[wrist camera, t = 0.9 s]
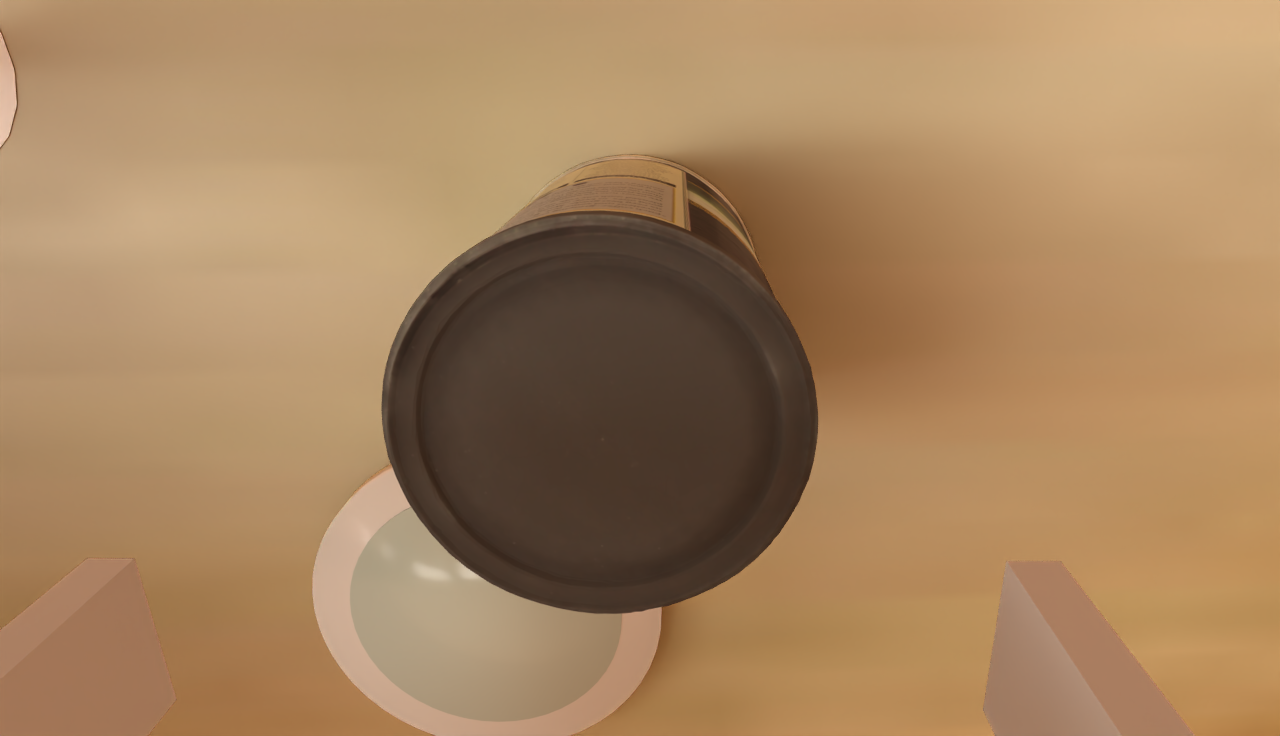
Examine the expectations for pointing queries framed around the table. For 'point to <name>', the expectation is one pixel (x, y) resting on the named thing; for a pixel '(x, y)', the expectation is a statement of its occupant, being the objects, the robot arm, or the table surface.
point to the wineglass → (6, 92)
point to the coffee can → (603, 395)
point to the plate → (463, 632)
